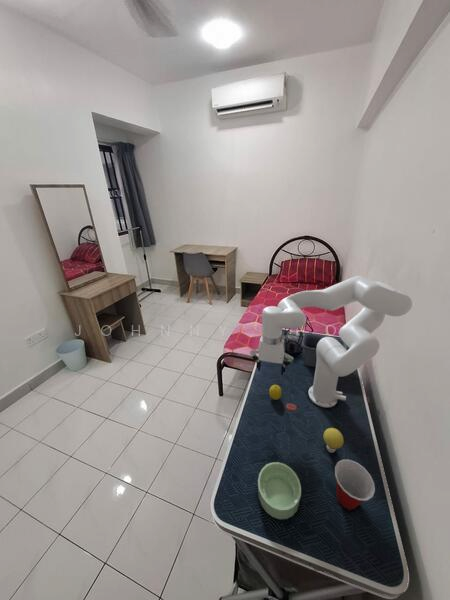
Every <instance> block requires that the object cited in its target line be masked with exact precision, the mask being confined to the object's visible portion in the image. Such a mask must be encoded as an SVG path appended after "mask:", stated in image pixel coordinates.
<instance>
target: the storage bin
mask: <svg viewBox="0 0 450 600" xmlns="http://www.w3.org/2000/svg"><path fill="white" fill-rule="evenodd" d="M324 337H330V336H328V335H324V334H323V335H322V334H317V333H310V332H308V333H307V332H306V333H305V334H303V337H302V343H301V345H302V346H301V347H302V348H303V349H304V350H303V351H304V365H305V366H308V367H313V368H316V362H317V355H316V348H317V344H318V342H319V341H320V340H321V339H322V338H324ZM331 337H332V338H334V339H336V340H337V341H338V342H339V343H340V344H341V345H342V346H343V347H344V348H345V349H346V350H348V346H347V345H346V344H345V343H344V342H343V341H342V339H341V338H340V337H335V336H331Z"/></svg>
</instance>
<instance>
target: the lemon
mask: <svg viewBox="0 0 450 600" xmlns="http://www.w3.org/2000/svg"><path fill="white" fill-rule="evenodd" d="M268 391H269V392H268V393H269V397H270V398H271V399H272V400H275V401H277V400H279V399H281V397H282V389H281V387H280V386H279V385H278V384H273V385H271V386H270V387H269V390H268Z"/></svg>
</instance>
